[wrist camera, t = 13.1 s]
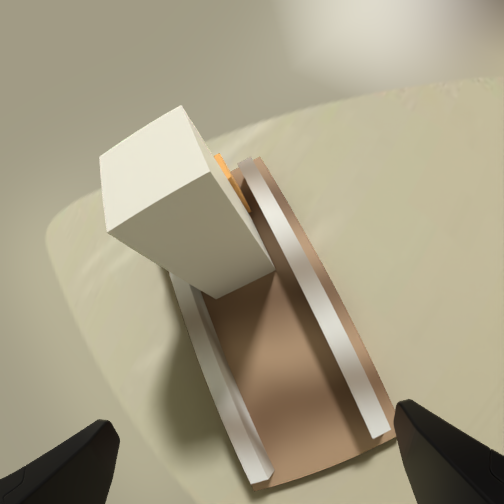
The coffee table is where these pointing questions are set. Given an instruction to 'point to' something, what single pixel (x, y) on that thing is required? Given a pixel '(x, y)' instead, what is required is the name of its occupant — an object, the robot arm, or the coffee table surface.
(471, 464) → the robot arm
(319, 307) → the rail board
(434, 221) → the coffee table surface
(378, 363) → the coffee table surface
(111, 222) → the block
